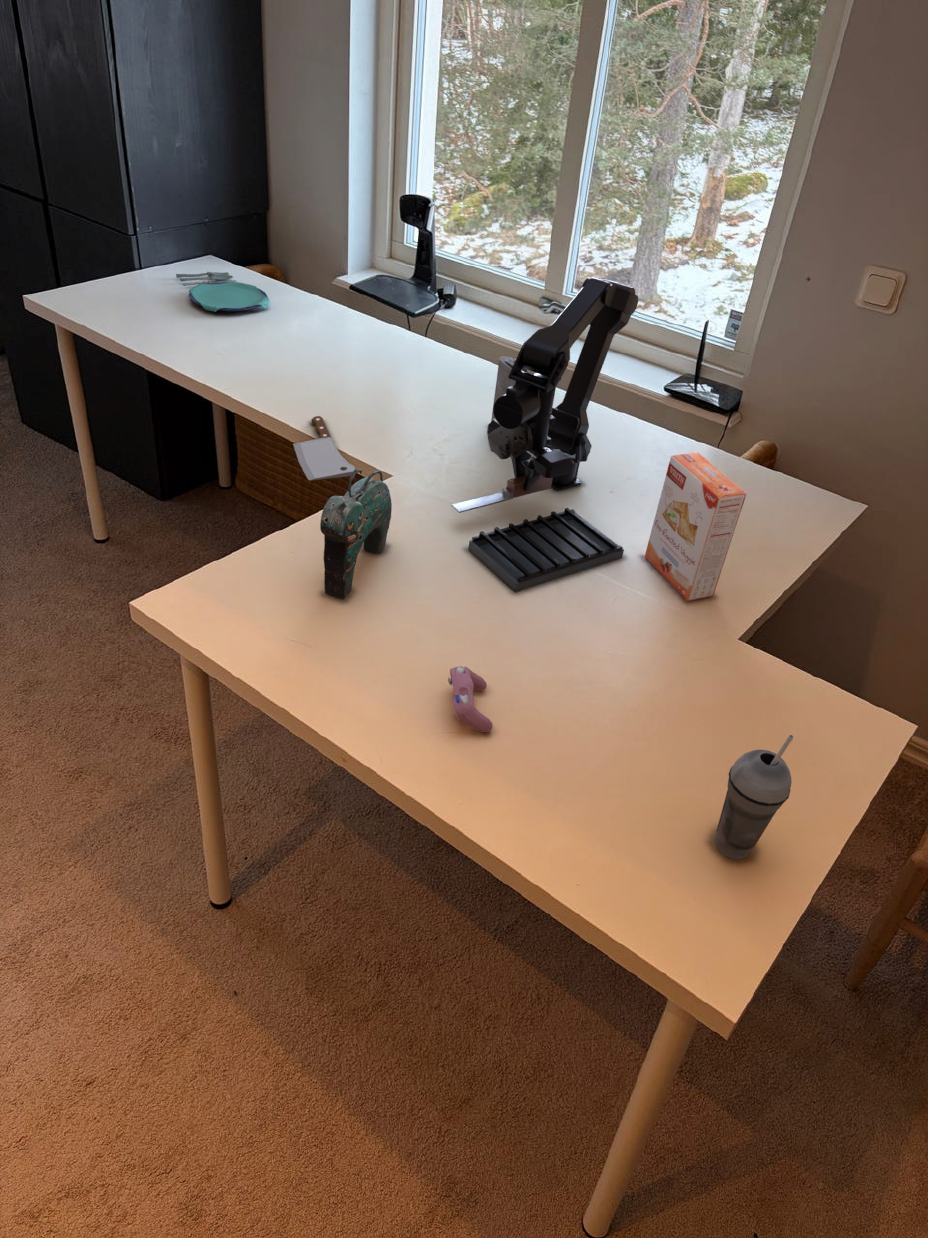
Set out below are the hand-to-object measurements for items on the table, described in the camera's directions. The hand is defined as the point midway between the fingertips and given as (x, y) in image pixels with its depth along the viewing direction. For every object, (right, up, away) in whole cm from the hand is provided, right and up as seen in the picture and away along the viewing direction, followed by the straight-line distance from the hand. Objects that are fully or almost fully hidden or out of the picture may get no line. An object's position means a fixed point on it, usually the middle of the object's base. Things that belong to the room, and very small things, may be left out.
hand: (522, 487), depth 176 cm
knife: (-4, -2, -2) cm, 5 cm away
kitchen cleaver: (-40, +9, +14) cm, 43 cm away
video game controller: (-10, -37, -42) cm, 57 cm away
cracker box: (+27, -17, -9) cm, 33 cm away
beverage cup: (+23, -53, -56) cm, 81 cm away
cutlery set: (-75, +61, +75) cm, 122 cm away
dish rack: (+4, -13, -8) cm, 16 cm away
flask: (-1, +13, +26) cm, 29 cm away
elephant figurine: (-29, -17, -18) cm, 38 cm away
